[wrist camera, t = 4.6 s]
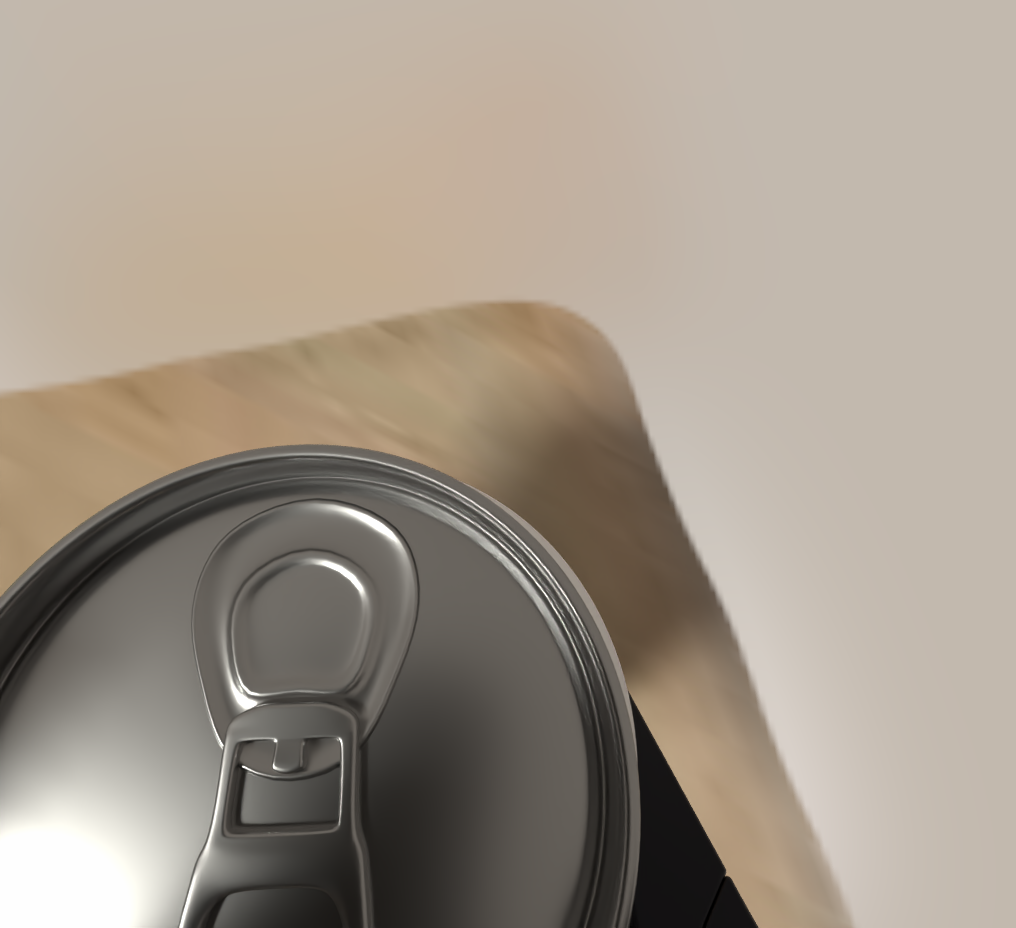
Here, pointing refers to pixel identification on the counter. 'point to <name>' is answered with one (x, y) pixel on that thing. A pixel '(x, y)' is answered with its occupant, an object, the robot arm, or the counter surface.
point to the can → (312, 711)
